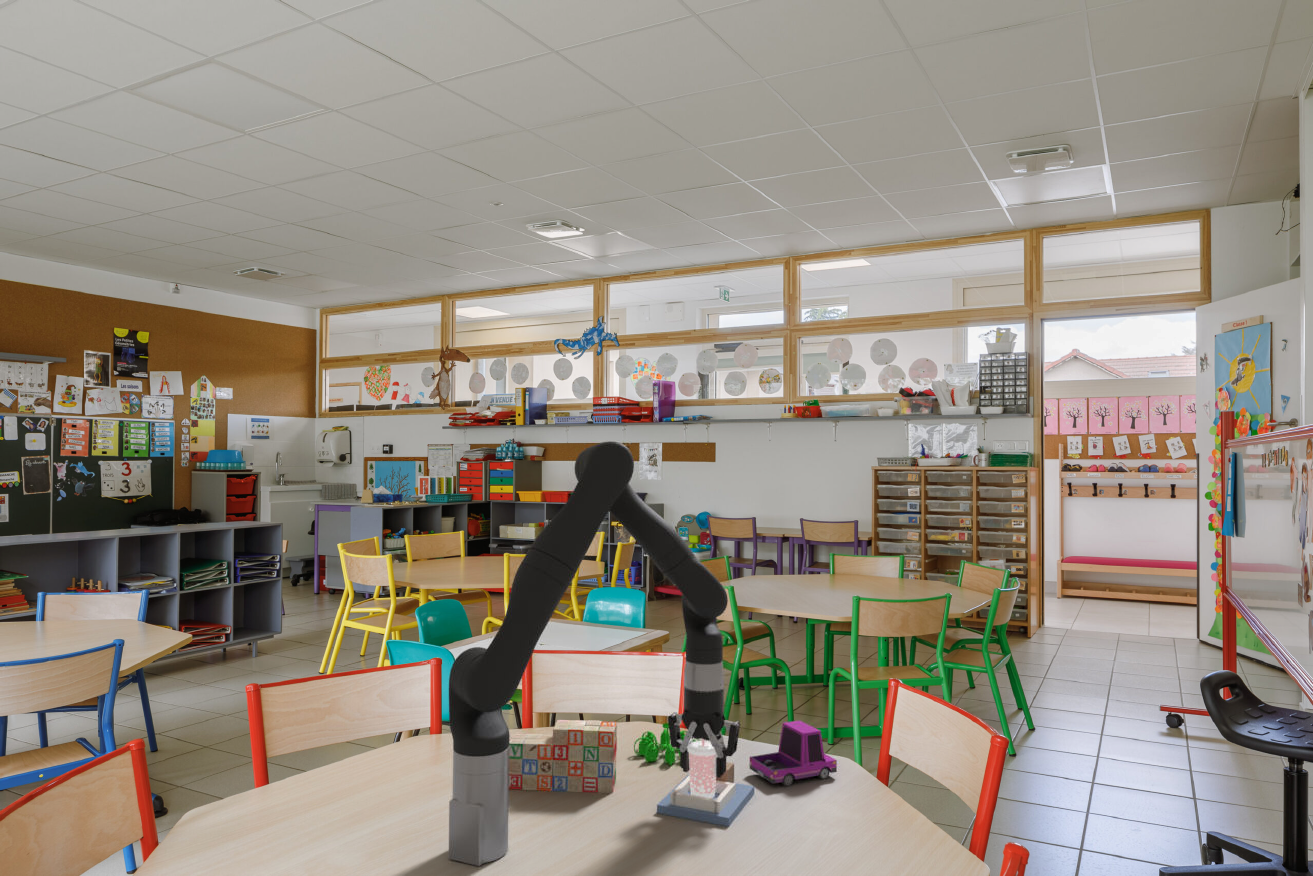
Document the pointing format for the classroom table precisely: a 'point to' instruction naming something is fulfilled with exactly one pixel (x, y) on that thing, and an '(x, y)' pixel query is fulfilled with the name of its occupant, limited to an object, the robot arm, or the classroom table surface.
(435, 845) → the classroom table surface
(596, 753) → the stack of blocks
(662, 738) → the chandelier
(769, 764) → the toy truck
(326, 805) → the classroom table surface
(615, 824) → the classroom table surface
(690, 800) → the blue square tray
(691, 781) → the beverage cup
